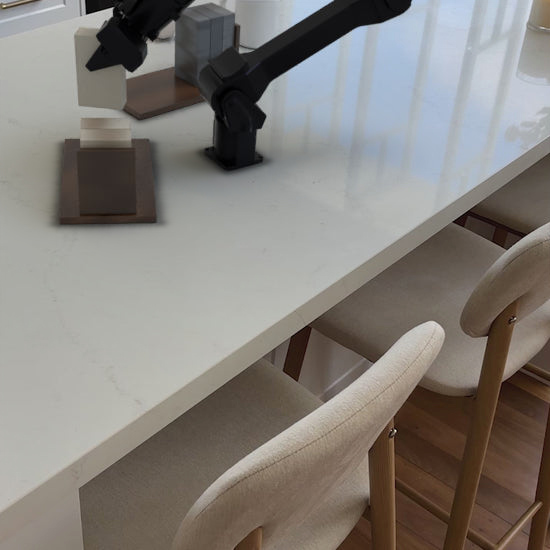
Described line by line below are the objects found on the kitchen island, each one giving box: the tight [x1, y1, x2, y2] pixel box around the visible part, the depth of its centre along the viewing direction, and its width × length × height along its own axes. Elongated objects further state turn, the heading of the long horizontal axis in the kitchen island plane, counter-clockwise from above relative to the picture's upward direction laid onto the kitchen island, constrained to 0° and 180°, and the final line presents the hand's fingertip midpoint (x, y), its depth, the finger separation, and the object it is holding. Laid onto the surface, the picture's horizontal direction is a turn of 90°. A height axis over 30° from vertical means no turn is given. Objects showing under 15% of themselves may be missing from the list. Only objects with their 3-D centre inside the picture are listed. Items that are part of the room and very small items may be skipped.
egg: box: [157, 20, 175, 40], centre depth 162 cm, size 6×6×8 cm
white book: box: [73, 26, 127, 111], centre depth 118 cm, size 6×3×10 cm, turn 86°
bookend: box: [122, 2, 240, 121], centre depth 142 cm, size 12×22×12 cm, turn 133°
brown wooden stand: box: [58, 117, 158, 225], centre depth 117 cm, size 12×21×11 cm, turn 9°
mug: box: [218, 0, 282, 50], centre depth 164 cm, size 12×8×10 cm
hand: (90, 63), depth 118 cm, fingers closed on white book, 3 cm apart
